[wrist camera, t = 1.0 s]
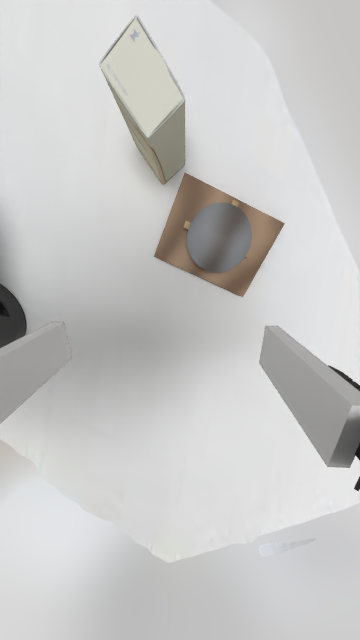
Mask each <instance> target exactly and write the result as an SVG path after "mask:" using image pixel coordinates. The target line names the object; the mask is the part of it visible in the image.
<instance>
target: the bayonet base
mask: <svg viewBox="0 0 360 640" xmlns="http://www.w3.org/2000/svg"><path fill="white" fill-rule="evenodd" d="M284 224H285V223H283V222H281V221H279V220H277V219H275V218H273V217H271V216H269V215H267V214H265V213H263V212H261V211H259V210H257V209H255V208H253V207H251V206H249V205H247V204H245V203H243V202H241V201H240V200H238V199H236V198H234V197H232V196H230V195H228V194H226V193H224V192H222V191H220V190H218V189H216V188H214V187H212V186H210V185H208V184H206V183H204V182H202V181H200V180H198V179H196V178H194V177H193V176H191V175H189V174H187V173H185V174H184V176H183V179H182V182H181V185H180V187H179V190H178V193H177V195H176V198H175V201H174V204H173V206H172V209H171V212H170V214H169V217H168V220H167V223H166V225H165V228H164V231H163V234H162V236H161V239H160V242H159V244H158V247H157V250H156V253H155V255H154V257H156V258H159V259H161V260H163V261H165V262H167V263H170V264H172V265H174V266H176V267H178V268H180V269H183V270H185V271H187V272H189V273H191V274H194V275H196V276H198V277H200V278H202V279H204V280H207V281H209V282H211V283H213V284H215V285H218V286H220V287H222V288H224V289H226V290H229V291H231V292H233V293H235V294H237V295H239V296H242V297H243V296H244V294H245V292H246V291H247V289H248V287H249V285H250V284H251V282H252V280H253V278H254V277H255V275H256V273H257V271H258V269H259V268H260V266H261V264H262V262H263V261H264V259H265V257H266V255H267V254H268V252H269V250H270V248H271V247H272V245H273V243H274V241H275V240H276V238H277V236H278V234H279V233H280V231H281V229H282V227H283V226H284Z"/></svg>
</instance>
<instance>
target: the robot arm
mask: <svg viewBox="0 0 360 640" xmlns="http://www.w3.org/2000/svg"><path fill="white" fill-rule="evenodd" d="M25 330H26V321H25V316H24V313H23V311H22V308H21V306H20V305H19V303H18V301H17V300H16V299H15V297H14V296H13V295H12V294H11V293H10V292H9V291H8V290H7V289H6V288H5V287H3V286H2V285H1V284H0V424H1V423H2V422H3V421H4V420H5V419H6V418H7V417H8V416H9V415H11V414H12V413H13V412H14V411H15V410H16V409H17V408H18V407H19V406H20V405H21V404H23V403H24V402H25V401H26V400H27V399H28V398H29V397H30V396H31V395H32V394H33V393H35V392H36V391H37V390H38V389H39V388H40V387H41V386H42V385H43V384H44V383H45V382H47V381H48V380H49V379H50V378H51V377H52V376H53V375H54V374H55V373H56V372H57V371H59V370H60V369H61V368H62V367H63V366H64V365H65V364H66V363H67V362H68V361H69V360H71V359H72V357H71V353H70V348H69V343H68V339H67V334H66V330H65V325H64V322H51V323H49V324H47V325H45V326H43V327H41V328H39V329H37V330H35V331H33V332H31V333H29V334H27V335H25V336H24V334H25ZM259 364H260V365H261V367H262V368H263V370H264V371H265V373H266V374H267V376H268V377H269V379H270V380H271V382H272V383H273V385H274V386H275V388H276V389H277V391H278V392H279V394H280V395H281V397H282V399H283V400H284V402H285V403H286V405H287V406H288V408H289V409H290V411H291V412H292V414H293V415H294V417H295V418H296V420H297V421H298V423H299V424H300V426H301V427H302V429H303V430H304V432H305V433H306V435H307V436H308V438H309V440H310V441H311V443H312V444H313V446H314V447H315V449H316V450H317V452H318V453H319V455H320V456H321V458H322V459H323V461H324V462H325V464H326V465H327V467H343V468H350V466H351V464H352V462H353V460H354V457H355V455H356V456H357V458H358V459H359V460H360V385H358V384H357V383H356V382H353V380H352V379H351V378H349V377H348V376H347V375H345V374H344V373H343V372H341V371H339V370H337V369H335V368H333V367H331V366H327V365H326V364H325V363H323V362H322V361H321V360H320V359H318V358H317V357H316V356H315V355H313V354H312V353H311V352H310V351H309V350H307V349H306V348H305V347H304V346H302V345H301V344H300V343H299V342H297V341H296V340H295V339H294V338H292V337H291V336H290V335H289V334H287V333H286V332H285V331H284V330H282V329H281V328H280V327H279V326H265V332H264V338H263V343H262V349H261V355H260V361H259ZM354 489H355V490H357V491H359V489H360V477H359V479H358V481H357V483H356V485H355V488H354Z"/></svg>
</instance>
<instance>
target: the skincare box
mask: <svg viewBox="0 0 360 640" xmlns="http://www.w3.org/2000/svg"><path fill="white" fill-rule="evenodd" d="M99 66H100V68H101V70H102V72H103V74H104V76H105V78H106V80H107V82H108V85H109V87H110V89H111V91H112V93H113V95H114V98H115V100H116V102H117V104H118V106H119V109H120V111H121V113H122V115H123V117H124V120H125V122H126V124H127V126H128V128H129V131H130V133H131V135H132V137H133V140H134V142H135V144H136V146H137V147H138V149H139V150H140V152H141V154H142V155H143V157H144V158H145V160H146V161H147V163H148V164H149V166H150V167H151V169H152V170H153V171H154V173H155V174H156V176H157V177H158V179H159V180H160V182H161V183H162V184H165V183H166V182H167V181H168V180H169V179H170V178H171V177H172V176H173V175H174V174H175V173H177V172H178V171H179V170H180V169H181V168H182V167H183V166H184V165H185V96H184V94H183V92H182V90H181V88H180V87H179V85H178V83H177V81H176V79H175V78H174V76H173V74H172V72H171V70H170V69H169V67H168V65H167V63H166V62H165V60H164V58H163V56H162V55H161V53H160V51H159V50H158V48H157V46H156V45H155V43H154V41H153V40H152V38H151V37H150V35H149V33H148V31H147V30H146V28H145V26H144V25H143V23H142V22H141V20H140V18H139V16H138V15H137V14H135V16H134V17H133V19H132V20H131V21H130V22H129V23H128V25H127V26H126V27H125V29H124V30H123V31H122V32H121V34H120V35H119V36H118V38H117V39H116V40H115V42H114V43H113V44H112V45H111V47H110V48H109V49H108V51H107V52H106V54H105V55H104V56H103V58H102V59H101V60H100V62H99Z"/></svg>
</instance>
